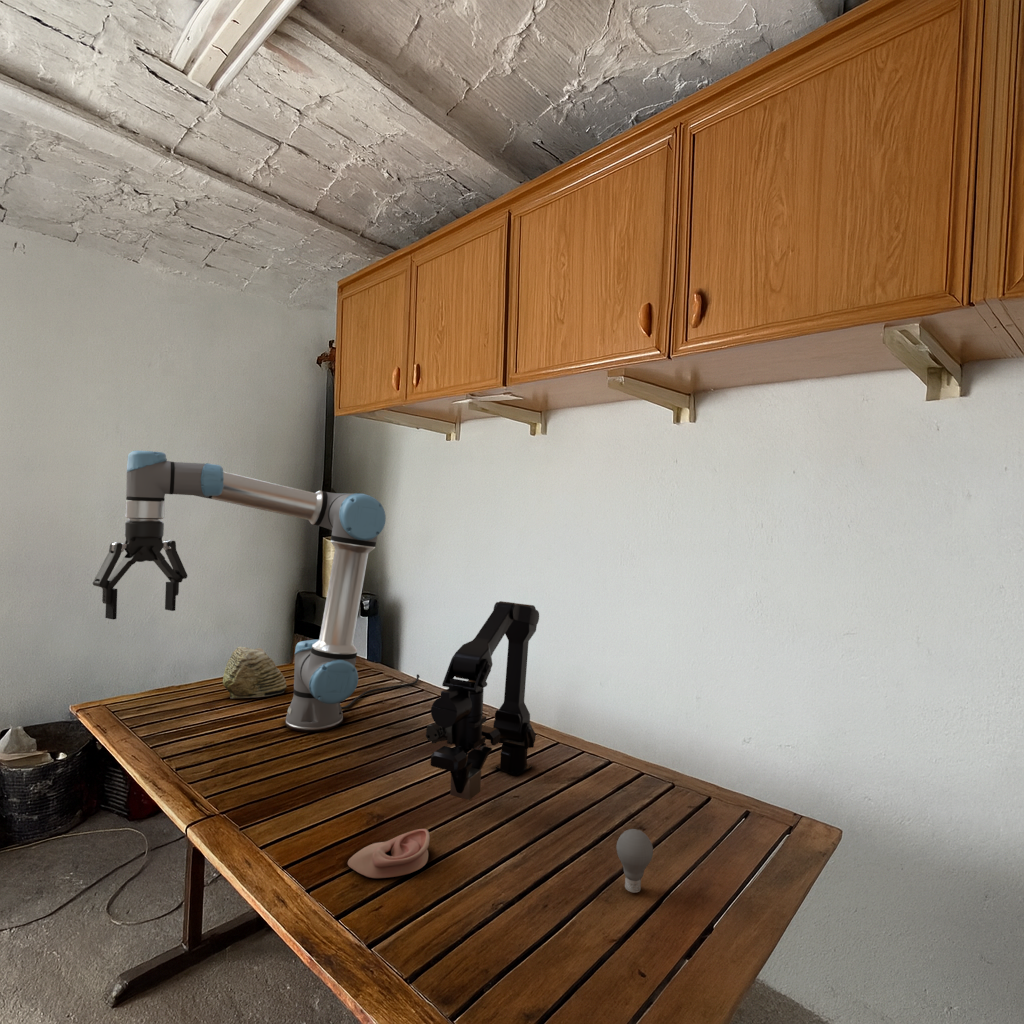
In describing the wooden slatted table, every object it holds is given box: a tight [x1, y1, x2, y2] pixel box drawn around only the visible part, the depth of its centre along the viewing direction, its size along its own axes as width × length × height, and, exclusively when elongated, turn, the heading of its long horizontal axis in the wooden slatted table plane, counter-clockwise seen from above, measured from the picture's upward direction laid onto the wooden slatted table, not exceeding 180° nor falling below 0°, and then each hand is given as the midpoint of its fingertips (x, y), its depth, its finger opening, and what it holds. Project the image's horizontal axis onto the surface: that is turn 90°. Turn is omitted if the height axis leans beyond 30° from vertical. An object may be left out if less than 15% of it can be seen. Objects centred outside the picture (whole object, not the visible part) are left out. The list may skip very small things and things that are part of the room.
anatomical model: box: [347, 828, 431, 879], centre depth 111 cm, size 13×4×12 cm
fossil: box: [222, 646, 288, 699], centre depth 198 cm, size 9×18×15 cm, turn 132°
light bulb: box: [615, 828, 654, 894], centre depth 106 cm, size 6×6×10 cm
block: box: [449, 767, 482, 801], centre depth 130 cm, size 4×5×4 cm
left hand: (141, 614), depth 142 cm, fingers open, 13 cm apart
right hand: (465, 788), depth 130 cm, fingers closed on block, 4 cm apart
